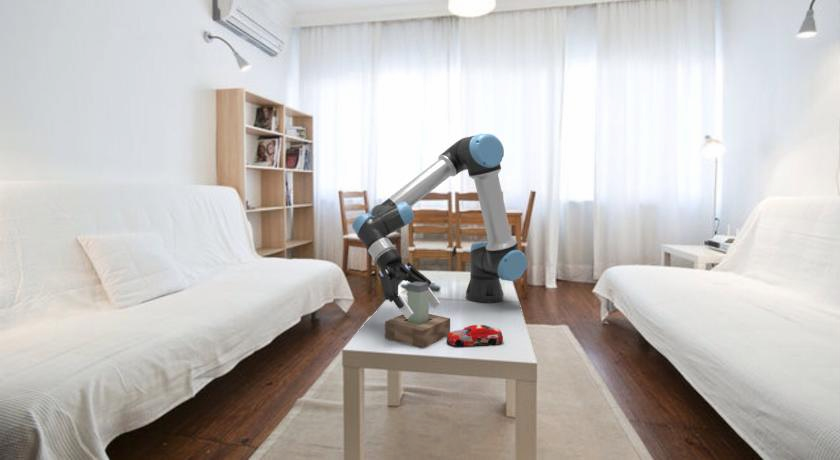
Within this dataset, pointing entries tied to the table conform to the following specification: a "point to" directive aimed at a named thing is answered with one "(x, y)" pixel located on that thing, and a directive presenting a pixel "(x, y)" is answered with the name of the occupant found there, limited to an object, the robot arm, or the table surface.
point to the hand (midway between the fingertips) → (424, 310)
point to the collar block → (417, 330)
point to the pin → (418, 302)
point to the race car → (475, 336)
